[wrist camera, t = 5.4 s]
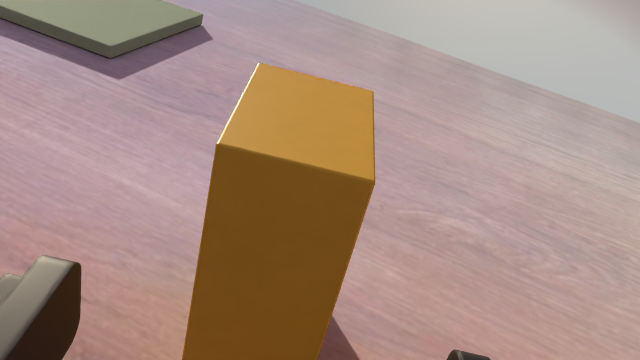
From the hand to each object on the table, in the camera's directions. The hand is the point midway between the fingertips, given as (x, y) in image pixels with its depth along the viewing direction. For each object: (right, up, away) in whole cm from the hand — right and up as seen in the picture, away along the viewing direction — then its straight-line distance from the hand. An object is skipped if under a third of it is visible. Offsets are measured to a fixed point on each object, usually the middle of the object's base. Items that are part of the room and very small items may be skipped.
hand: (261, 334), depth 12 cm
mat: (-21, +19, +39) cm, 48 cm away
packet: (-1, -3, +11) cm, 12 cm away
